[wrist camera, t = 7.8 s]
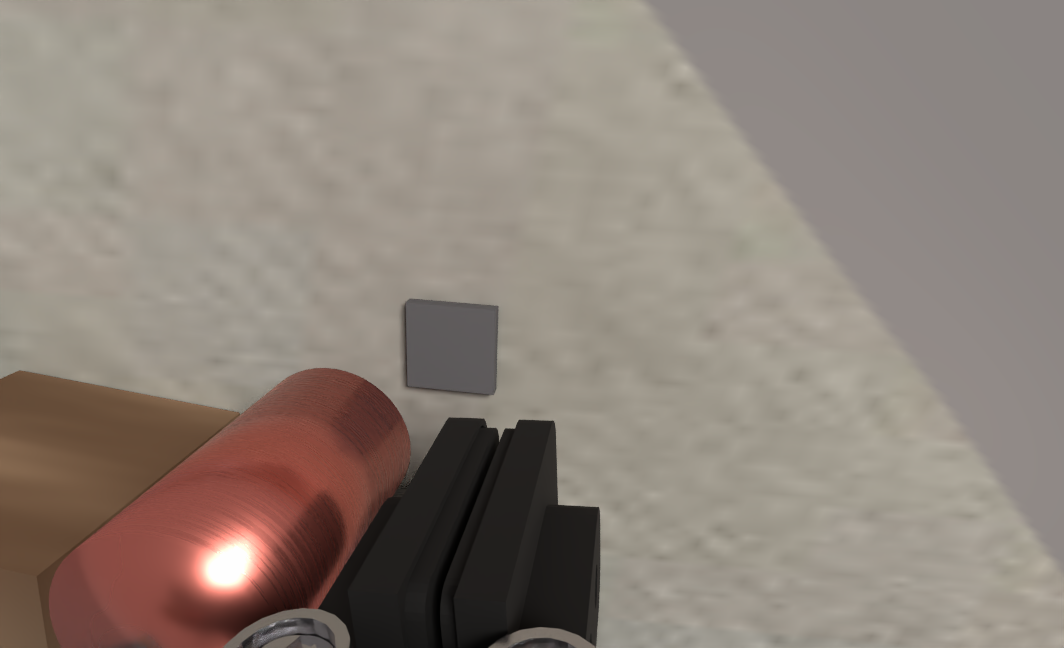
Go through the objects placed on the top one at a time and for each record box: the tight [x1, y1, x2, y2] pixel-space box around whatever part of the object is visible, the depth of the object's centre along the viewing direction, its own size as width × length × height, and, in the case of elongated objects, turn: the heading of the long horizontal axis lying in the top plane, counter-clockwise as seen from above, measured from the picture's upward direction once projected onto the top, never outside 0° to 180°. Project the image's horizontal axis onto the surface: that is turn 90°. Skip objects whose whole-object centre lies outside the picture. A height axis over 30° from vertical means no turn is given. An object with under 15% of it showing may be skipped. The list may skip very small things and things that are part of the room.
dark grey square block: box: [406, 299, 498, 395], centre depth 15 cm, size 2×2×1 cm
